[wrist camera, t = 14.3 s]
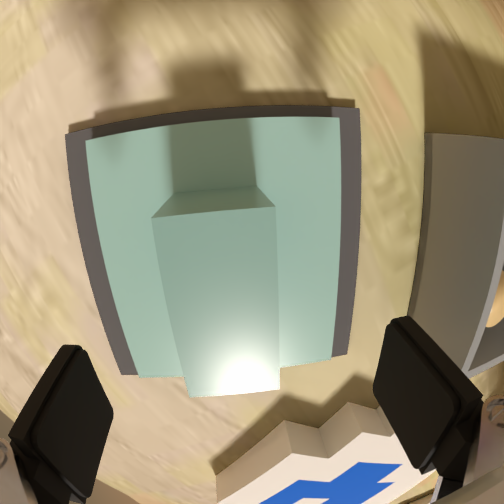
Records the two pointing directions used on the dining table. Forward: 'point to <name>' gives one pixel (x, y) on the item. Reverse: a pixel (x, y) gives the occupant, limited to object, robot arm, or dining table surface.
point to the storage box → (462, 250)
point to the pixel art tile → (323, 463)
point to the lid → (222, 246)
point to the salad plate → (423, 500)
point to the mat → (77, 140)
